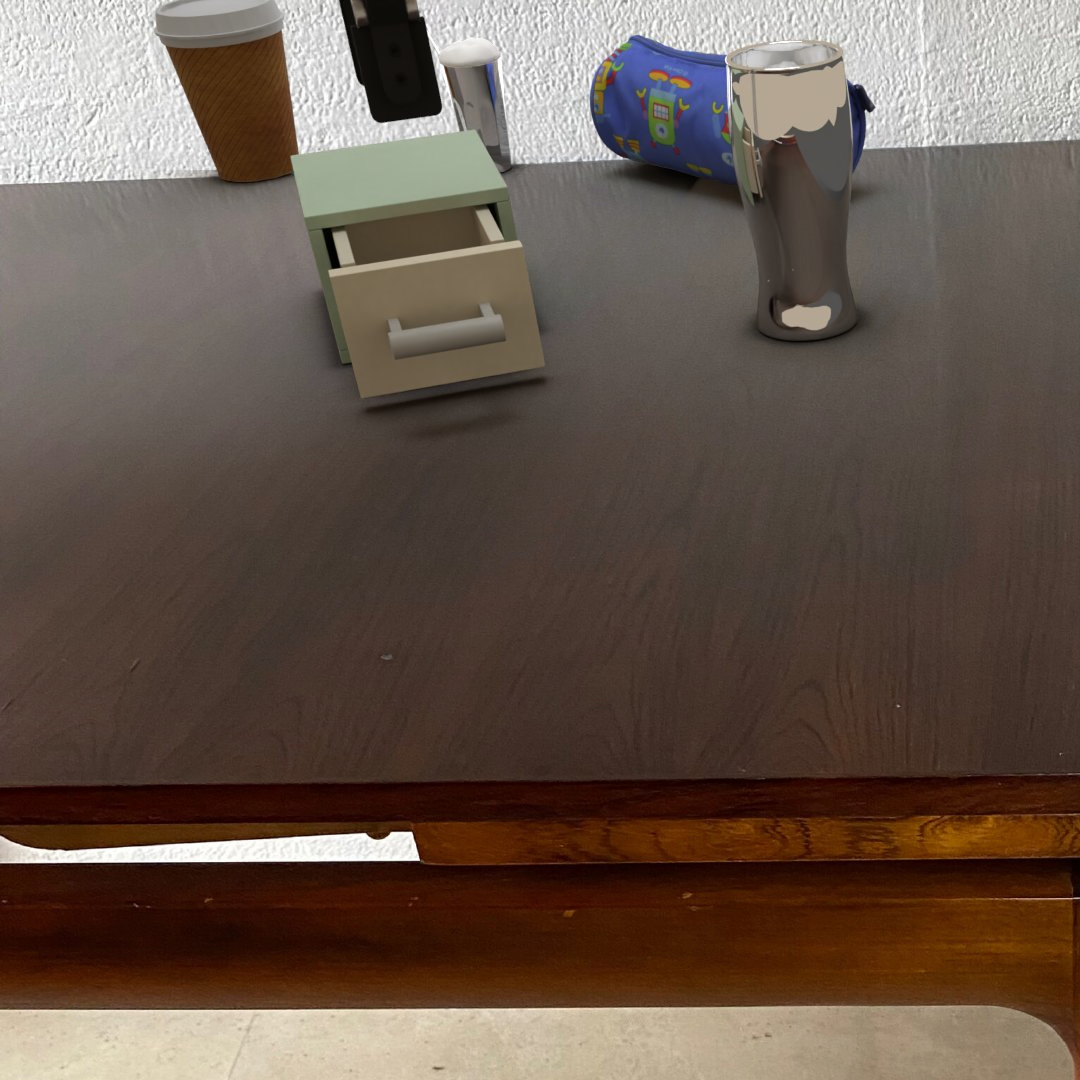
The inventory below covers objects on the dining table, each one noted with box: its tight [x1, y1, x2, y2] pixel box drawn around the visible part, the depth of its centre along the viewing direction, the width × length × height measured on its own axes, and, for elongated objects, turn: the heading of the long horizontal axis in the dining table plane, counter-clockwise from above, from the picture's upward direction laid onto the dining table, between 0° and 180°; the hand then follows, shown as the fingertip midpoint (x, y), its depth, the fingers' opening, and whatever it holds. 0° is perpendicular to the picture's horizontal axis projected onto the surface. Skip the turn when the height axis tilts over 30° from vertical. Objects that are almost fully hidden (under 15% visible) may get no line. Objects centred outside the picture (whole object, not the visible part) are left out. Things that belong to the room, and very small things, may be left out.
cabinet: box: [291, 130, 518, 365], centre depth 107 cm, size 14×12×9 cm
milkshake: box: [427, 30, 512, 174], centre depth 131 cm, size 4×5×10 cm
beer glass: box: [725, 39, 858, 342], centre depth 100 cm, size 7×7×15 cm
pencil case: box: [589, 34, 877, 187], centre depth 125 cm, size 22×9×10 cm, turn 49°
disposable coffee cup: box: [153, 0, 300, 183], centre depth 133 cm, size 10×10×12 cm
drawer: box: [328, 204, 546, 399], centre depth 99 cm, size 17×10×7 cm, turn 19°
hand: (399, 95), depth 82 cm, fingers open, 6 cm apart
